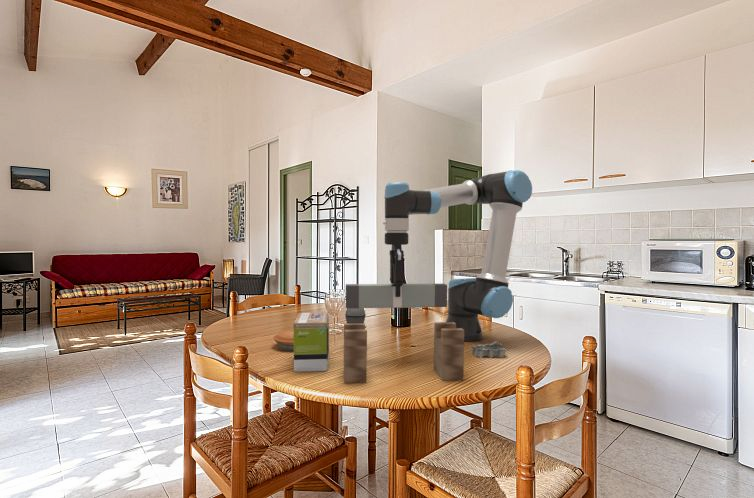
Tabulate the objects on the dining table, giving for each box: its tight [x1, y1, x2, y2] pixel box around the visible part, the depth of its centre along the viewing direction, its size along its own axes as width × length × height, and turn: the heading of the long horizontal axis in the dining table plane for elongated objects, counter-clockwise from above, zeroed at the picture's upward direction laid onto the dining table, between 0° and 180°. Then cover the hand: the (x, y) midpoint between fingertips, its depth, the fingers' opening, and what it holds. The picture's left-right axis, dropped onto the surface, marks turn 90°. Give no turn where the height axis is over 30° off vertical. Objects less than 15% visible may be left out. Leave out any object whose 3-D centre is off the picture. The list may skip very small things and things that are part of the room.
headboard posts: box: [343, 321, 465, 384], centre depth 118 cm, size 33×10×14 cm, turn 96°
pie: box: [272, 329, 294, 352], centre depth 147 cm, size 15×16×5 cm
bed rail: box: [345, 283, 448, 309], centre depth 131 cm, size 32×4×7 cm, turn 96°
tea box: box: [292, 311, 330, 373], centre depth 127 cm, size 15×10×15 cm, turn 5°
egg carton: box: [470, 340, 507, 358], centre depth 139 cm, size 11×8×4 cm
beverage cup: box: [344, 308, 366, 323], centre depth 145 cm, size 7×7×20 cm
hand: (396, 305), depth 131 cm, fingers closed on bed rail, 4 cm apart
